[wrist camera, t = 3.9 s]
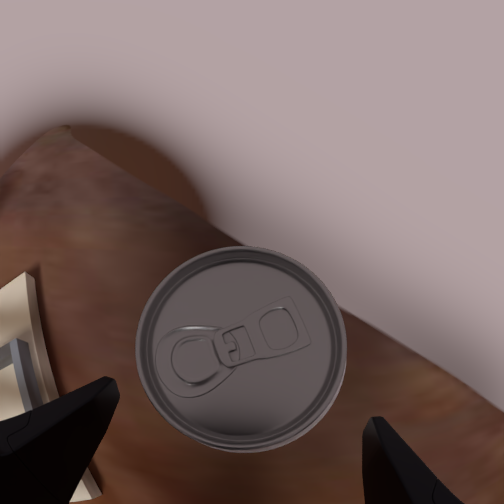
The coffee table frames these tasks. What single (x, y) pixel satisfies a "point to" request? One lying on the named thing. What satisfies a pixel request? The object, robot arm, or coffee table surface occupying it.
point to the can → (241, 349)
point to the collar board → (28, 362)
